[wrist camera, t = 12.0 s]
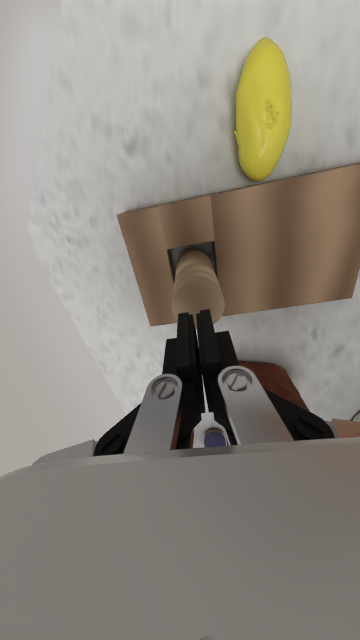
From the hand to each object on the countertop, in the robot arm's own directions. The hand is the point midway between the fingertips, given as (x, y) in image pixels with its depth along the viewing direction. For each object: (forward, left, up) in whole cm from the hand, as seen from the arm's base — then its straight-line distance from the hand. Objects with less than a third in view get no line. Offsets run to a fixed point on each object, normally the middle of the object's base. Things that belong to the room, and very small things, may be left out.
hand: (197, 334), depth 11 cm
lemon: (-7, -10, -15) cm, 19 cm away
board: (-5, 0, -14) cm, 15 cm away
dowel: (0, 0, -14) cm, 14 cm away
